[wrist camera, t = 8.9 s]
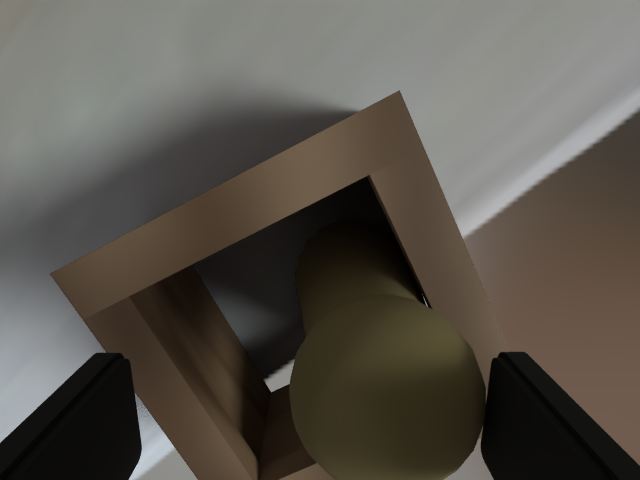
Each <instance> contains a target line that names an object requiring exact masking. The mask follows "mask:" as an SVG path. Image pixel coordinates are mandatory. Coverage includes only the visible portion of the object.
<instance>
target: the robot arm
mask: <svg viewBox="0 0 640 480" xmlns="http://www.w3.org/2000/svg"><path fill="white" fill-rule="evenodd" d="M141 450H142V445H141V437H140V430H139V422H138V415H137V407H136V400H135V393H134V385H133V378H132V370H131V364H130V361H129V359H124V356H123V355H122V354H121V353H96V354H94V355H93V356H92V357H91V358H90V359H89V360H88V361H87V362H85V363H84V364H83V365H82V366H81V367H80V368H79V369H78V370H77V371H76V372H75V373H74V374H73V375H72V376H71V377H70V378H69V379H67V380H66V381H65V382H64V383H63V384H62V385H61V386H60V387H59V388H58V389H57V390H56V391H55V392H54V393H53V394H52V395H51V396H50V397H48V398H47V399H46V400H45V401H44V402H43V403H42V404H41V405H40V406H39V407H38V408H37V409H36V410H35V411H34V412H33V413H32V414H31V415H29V416H28V417H27V418H26V419H25V420H24V421H23V422H22V423H21V424H20V425H19V426H18V427H17V428H16V429H15V430H14V431H13V432H11V433H10V434H9V435H8V436H7V437H6V438H5V439H4V440H3V441H2V442H1V443H0V480H129V478H130V476H131V474H132V473H133V471H134V469H135V467H136V465H137V464H138V461H139V459H140V456H141ZM481 452H482V457H483V459H484V461H485V464H486V465H487V467H488V469H489V471H490V473H491V475H492V477H493V478H494V480H640V466H639V465H638V464H637V463H636V462H635V461H634V460H633V459H632V458H631V457H630V456H629V455H628V454H627V453H626V452H625V451H624V450H623V449H622V448H621V447H620V446H619V445H618V444H617V443H616V442H615V441H614V440H613V439H612V438H611V437H610V436H609V435H608V434H607V433H606V432H605V431H604V430H603V429H602V428H601V427H600V426H599V425H598V424H597V423H596V422H595V421H594V420H593V419H592V418H591V417H590V416H589V415H588V414H587V413H586V412H585V411H584V410H583V409H582V408H581V407H580V406H579V405H578V404H577V403H576V402H575V401H574V400H573V399H572V398H571V397H570V396H569V395H568V394H567V393H566V392H565V391H564V390H563V389H562V388H561V387H560V386H559V385H558V384H557V383H556V382H555V381H554V380H553V379H552V378H551V377H550V376H549V375H548V374H547V373H546V372H545V371H544V370H543V369H542V368H541V367H540V366H539V365H538V364H537V363H536V362H535V361H534V360H533V359H532V358H531V357H530V356H529V355H528V354H526V353H525V352H500V353H499V355H498V357H497V358H493V359H492V362H491V368H490V375H489V383H488V391H487V399H486V414H485V419H484V423H483V430H482V439H481Z"/></svg>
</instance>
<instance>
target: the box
mask: <svg viewBox="0 0 640 480" xmlns="http://www.w3.org/2000/svg"><path fill="white" fill-rule="evenodd" d="M366 176H367V177H368V179H369V181H370V183H371V186H372V188H373V190H374V192H375V194H376V196H377V198H378V201H379V203H380V205H381V207H382V209H383V211H384V213H385V215H386V218H387V220H388V222H389V224H390V226H391V228H392V230H393V232H394V235H395V237H396V239H397V241H398V243H399V245H400V247H401V250H402V252H403V254H404V256H405V258H406V260H407V262H408V264H409V267H410V269H411V271H412V273H413V275H414V277H415V279H416V281H417V284H418V286H419V288H420V290H421V292H422V294H423V296H424V298H425V301H426V302H427V305H428V307H429V308H431V309H432V310H434V311H436V312H437V313H439V314H441V315H443V316H444V317H446V318H447V319H448V320H449V321H450V322H451V324H452V325H453V326H454V327H455V328H456V329H457V331H458V332H459V333H460V334H461V335H462V336H463V338H464V339H465V340H466V341H467V343H468V344H469V345H470V346H471V348H472V349H473V351H474V354H475V357H476V359H477V362H478V365H479V368H480V370H481V373H482V376H483V380H484V383H485V387H486V399H487V391H488V383H489V375H490V368H491V362H492V359H493V358H497V357H498V355H499V353H500V352H511V351H510V349H509V347H508V344H507V342H506V340H505V337H504V335H503V333H502V330H501V328H500V326H499V323H498V321H497V319H496V316H495V314H494V312H493V309H492V307H491V304H490V302H489V300H488V297H487V295H486V293H485V290H484V288H483V286H482V283H481V281H480V279H479V276H478V274H477V272H476V269H475V267H474V264H473V262H472V260H471V257H470V255H469V253H468V250H467V248H466V246H465V243H464V241H463V239H462V236H461V234H460V231H459V229H458V227H457V224H456V222H455V220H454V217H453V215H452V213H451V210H450V208H449V206H448V203H447V201H446V199H445V196H444V194H443V191H442V189H441V187H440V184H439V182H438V180H437V177H436V175H435V173H434V170H433V168H432V166H431V163H430V161H429V159H428V156H427V154H426V151H425V149H424V147H423V144H422V142H421V140H420V137H419V135H418V133H417V130H416V128H415V126H414V123H413V121H412V119H411V116H410V114H409V111H408V109H407V107H406V104H405V102H404V100H403V97H402V95H401V93H400V90H399V91H398V92H396V93H394V94H392V95H390V96H388V97H386V98H384V99H382V100H380V101H378V102H377V103H375V104H373V105H371V106H369V107H367V108H365V109H363V110H361V111H359V112H358V113H356V114H354V115H352V116H350V117H348V118H346V119H344V120H342V121H340V122H338V123H337V124H335V125H333V126H331V127H329V128H327V129H325V130H323V131H321V132H319V133H317V134H316V135H314V136H312V137H310V138H308V139H306V140H304V141H302V142H300V143H298V144H297V145H295V146H293V147H291V148H289V149H287V150H285V151H283V152H281V153H279V154H277V155H276V156H274V157H272V158H270V159H268V160H266V161H264V162H262V163H260V164H258V165H257V166H255V167H253V168H251V169H249V170H247V171H245V172H243V173H241V174H239V175H237V176H236V177H234V178H232V179H230V180H228V181H226V182H224V183H222V184H220V185H218V186H216V187H215V188H213V189H211V190H209V191H207V192H205V193H203V194H201V195H199V196H197V197H196V198H194V199H192V200H190V201H188V202H186V203H184V204H182V205H180V206H178V207H176V208H175V209H173V210H171V211H169V212H167V213H165V214H163V215H161V216H159V217H157V218H156V219H154V220H152V221H150V222H148V223H146V224H144V225H142V226H140V227H138V228H136V229H135V230H133V231H131V232H129V233H127V234H125V235H123V236H121V237H119V238H117V239H115V240H114V241H112V242H110V243H108V244H106V245H104V246H102V247H100V248H98V249H96V250H95V251H93V252H91V253H89V254H87V255H85V256H83V257H81V258H79V259H77V260H75V261H74V262H72V263H70V264H68V265H66V266H64V267H62V268H60V269H58V270H56V271H55V272H53V273H51V274H50V275H51V276H52V278H53V279H54V280H55V282H56V283H57V285H58V286H59V287H60V289H61V290H62V291H63V293H64V294H65V296H66V297H67V298H68V300H69V301H70V303H71V304H72V305H73V307H74V308H75V310H76V311H77V312H78V314H79V315H80V316H81V318H82V319H83V321H84V322H85V323H86V325H87V326H88V328H89V329H90V330H91V332H92V333H93V335H94V336H95V337H96V339H97V340H98V341H99V343H100V344H101V346H102V347H103V348H104V350H105V351H106V353H121V354H122V355H123V356H124V359H129V361H130V364H131V370H132V378H133V385H134V391H135V393H136V394H137V396H138V397H139V398H140V400H141V401H142V403H143V404H144V405H145V407H146V408H147V409H148V411H149V412H150V414H151V415H152V416H153V418H154V419H155V421H156V422H157V423H158V425H159V426H160V428H161V429H162V430H163V432H164V433H165V434H166V436H167V437H168V439H169V440H170V441H171V443H172V444H173V446H174V447H175V448H176V450H177V451H178V453H179V454H180V455H181V457H182V458H183V459H184V461H185V462H186V464H187V465H188V466H189V468H190V469H191V471H192V472H193V473H194V475H195V476H196V477H197V479H198V480H334V479H333V478H332V477H331V476H330V475H329V474H328V473H327V472H326V471H325V470H324V469H323V468H322V467H321V466H320V465H319V464H318V463H316V461H315V460H314V459H313V458H312V457H311V456H310V455H309V454H308V453H307V451H306V449H305V447H304V445H303V443H302V441H301V439H300V437H299V435H298V433H297V431H296V429H295V425H294V421H293V418H292V411H291V403H290V395H289V386H290V384H289V385H286V386H284V387H282V388H280V389H278V390H276V391H274V392H271V391H270V390H269V388H268V387H267V385H266V383H265V382H264V380H263V378H262V377H261V375H260V374H259V372H258V370H257V369H256V367H255V366H254V364H253V362H252V361H251V359H250V357H249V356H248V354H247V353H246V351H245V349H244V348H243V346H242V344H241V343H240V341H239V340H238V338H237V336H236V335H235V333H234V332H233V330H232V328H231V327H230V325H229V323H228V322H227V320H226V319H225V317H224V315H223V314H222V312H221V311H220V309H219V307H218V306H217V304H216V302H215V301H214V299H213V298H212V296H211V294H210V293H209V291H208V289H207V288H206V286H205V285H204V283H203V281H202V280H201V278H200V277H199V275H198V273H197V272H196V270H195V268H194V267H193V265H192V264H194V263H196V262H198V261H200V260H202V259H204V258H206V257H208V256H210V255H212V254H214V253H216V252H218V251H220V250H222V249H224V248H226V247H228V246H230V245H231V244H233V243H235V242H237V241H239V240H241V239H243V238H245V237H247V236H249V235H251V234H253V233H255V232H257V231H259V230H261V229H263V228H265V227H267V226H269V225H271V224H273V223H275V222H277V221H279V220H281V219H283V218H285V217H287V216H289V215H291V214H293V213H295V212H297V211H299V210H301V209H303V208H305V207H307V206H309V205H311V204H313V203H315V202H317V201H319V200H320V199H322V198H324V197H326V196H328V195H330V194H332V193H334V192H336V191H338V190H340V189H342V188H344V187H346V186H348V185H350V184H352V183H354V182H356V181H358V180H360V179H362V178H364V177H366ZM482 430H483V427H482ZM482 430H481V433H480V435H479V438H482ZM479 438H478V439H479Z"/></svg>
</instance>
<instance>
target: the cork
mask: <svg viewBox="0 0 640 480" xmlns="http://www.w3.org/2000/svg"><path fill="white" fill-rule="evenodd" d="M295 280H296V290H297V295H298V300H299V305H300V310H301V315H302V320H303V324H304V329H305V334H306V339H305V340H304V342H303V343H302V345H301V346H300V348H299V349H298V351H297V354H296V358H295V362H294V366H293V370H292V374H291V380H290V386H289V395H290V403H291V411H292V418H293V421H294V425H295V429H296V431H297V433H298V435H299V437H300V439H301V441H302V443H303V445H304V447H305V449H306V451H307V453H308V454H309V455H310V456H311V457H312V458H313V459H314V460H315V461H316V463H318V464H319V465H320V466H321V467H322V468H323V469H324V470H325V471H326V472H327V473H328V474H329V475H330V476H331V477H332V478H333V479H334V480H443V479H445V478H446V477H448V476H449V475H451V474H452V473H454V472H455V471H457V470H458V469H459V467H460V466H461V465H462V464H463V463H464V461H465V460H466V459H467V458H468V457H469V455H470V454H471V453H472V452H473V451H474V448H475V445H476V443H477V440H478V438H479V435H480V433H481V430H482V427H483V423H484V419H485V414H486V387H485V383H484V380H483V376H482V373H481V370H480V368H479V365H478V362H477V359H476V357H475V354H474V351H473V349H472V348H471V346H470V345H469V344H468V343H467V341H466V340H465V339H464V338H463V336H462V335H461V334H460V333H459V332H458V331H457V329H456V328H455V327H454V326H453V325H452V324H451V322H450V321H449V320H448V319H447V318H446V317H444V316H443V315H441V314H439V313H437V312H436V311H434V310H432V309H431V308H429V307H427V306H426V304H425V301H424V298H423V295H422V292H421V290H420V288H419V286H418V284H417V281H416V279H415V277H414V275H413V273H412V271H411V269H410V267H409V264H408V262H407V260H406V258H405V256H404V254H403V252H402V250H401V247H400V245H399V243H398V241H397V239H396V237H395V235H394V233H392V232H391V231H389V230H387V229H386V228H384V227H382V226H381V225H379V224H377V223H372V222H368V221H364V220H348V221H339V222H337V223H335V224H332V225H330V226H327V227H325V228H323V229H321V230H320V231H319V232H318V233H317V234H315V235H314V236H313V237H312V238H311V239H310V240H308V242H307V243H306V245H305V247H304V248H303V250H302V252H301V253H300V255H299V257H298V261H297V266H296V270H295Z"/></svg>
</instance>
